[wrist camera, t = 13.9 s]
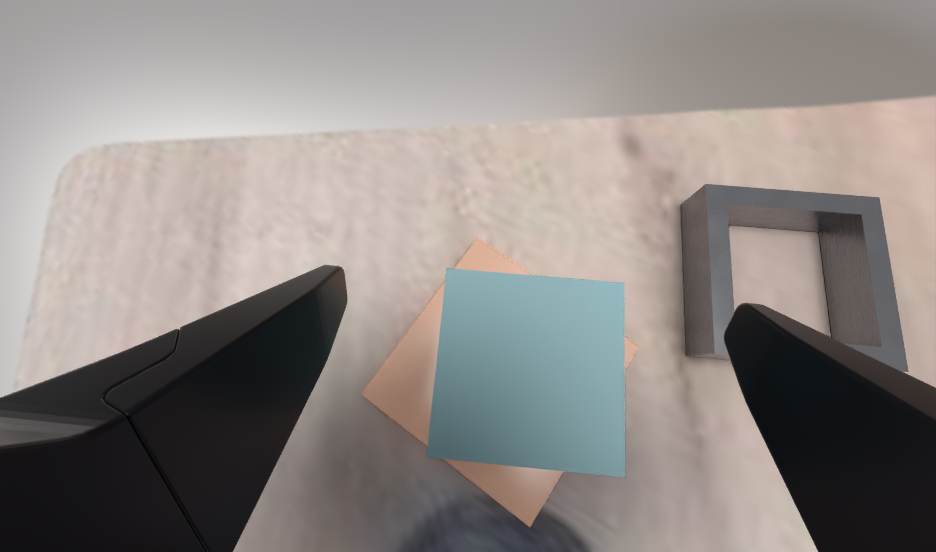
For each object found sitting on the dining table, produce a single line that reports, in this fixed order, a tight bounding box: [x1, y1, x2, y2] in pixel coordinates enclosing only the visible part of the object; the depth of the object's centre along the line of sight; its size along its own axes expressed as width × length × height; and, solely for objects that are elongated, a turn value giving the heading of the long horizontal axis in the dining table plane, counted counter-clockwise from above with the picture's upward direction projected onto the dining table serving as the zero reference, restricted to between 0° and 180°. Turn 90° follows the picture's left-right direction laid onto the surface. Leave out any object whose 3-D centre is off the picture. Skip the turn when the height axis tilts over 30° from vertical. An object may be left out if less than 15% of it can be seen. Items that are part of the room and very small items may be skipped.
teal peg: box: [426, 268, 625, 478], centre depth 15 cm, size 4×4×10 cm
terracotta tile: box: [361, 238, 639, 527], centre depth 20 cm, size 10×10×1 cm
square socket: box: [681, 184, 908, 372], centre depth 20 cm, size 8×8×2 cm
